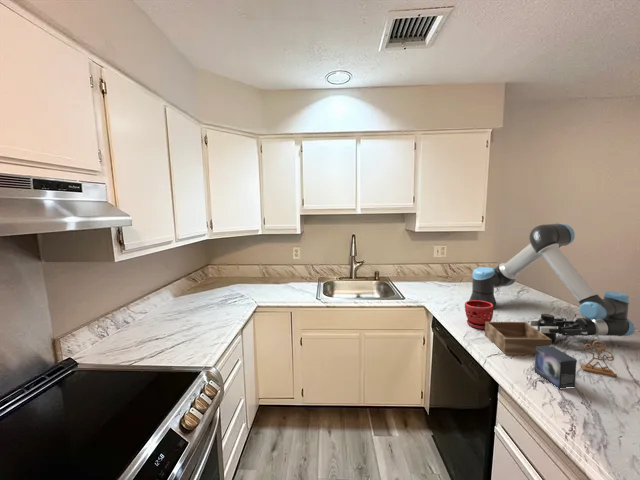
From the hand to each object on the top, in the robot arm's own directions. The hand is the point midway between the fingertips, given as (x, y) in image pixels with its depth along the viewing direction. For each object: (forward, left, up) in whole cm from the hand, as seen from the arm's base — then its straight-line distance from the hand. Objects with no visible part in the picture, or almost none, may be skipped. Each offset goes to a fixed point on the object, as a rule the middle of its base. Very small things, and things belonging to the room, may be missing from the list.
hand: (535, 326), depth 130 cm
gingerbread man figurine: (+25, +7, -7) cm, 27 cm away
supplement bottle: (0, +5, -7) cm, 8 cm away
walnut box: (+5, -11, -7) cm, 14 cm away
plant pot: (-16, -18, -7) cm, 25 cm away
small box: (+31, -12, -7) cm, 34 cm away
